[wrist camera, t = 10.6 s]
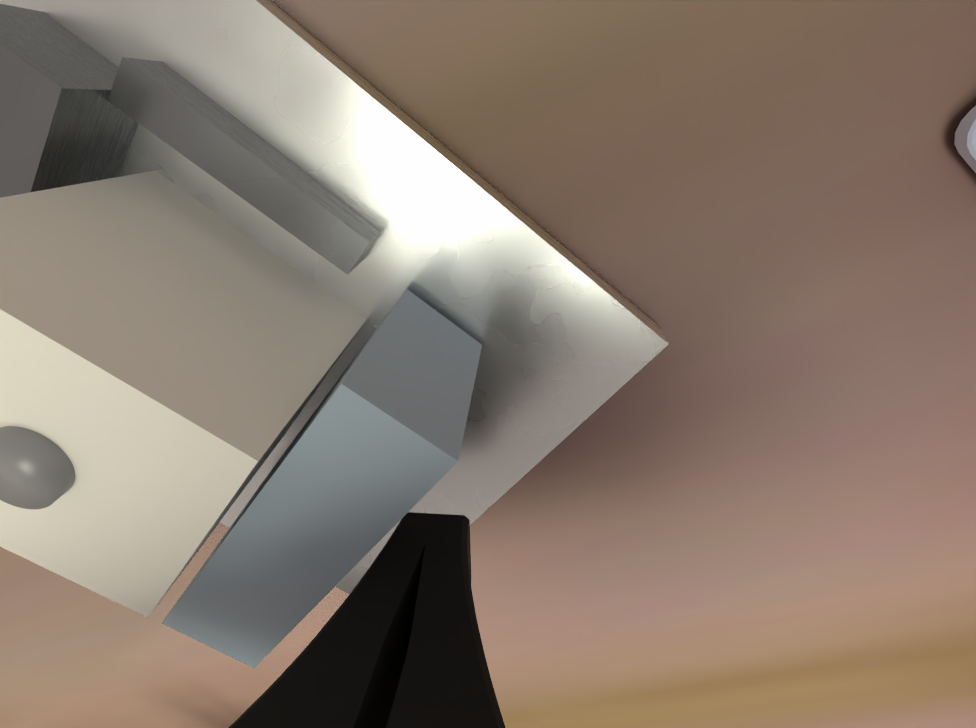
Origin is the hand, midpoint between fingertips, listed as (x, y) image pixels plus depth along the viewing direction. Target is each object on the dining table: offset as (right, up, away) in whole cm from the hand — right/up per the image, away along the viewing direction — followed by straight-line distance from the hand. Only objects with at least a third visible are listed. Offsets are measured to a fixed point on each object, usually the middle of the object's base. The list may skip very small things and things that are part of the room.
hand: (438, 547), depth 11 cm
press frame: (-4, +5, +2) cm, 7 cm away
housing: (-5, +5, +1) cm, 7 cm away
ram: (-2, +3, +1) cm, 3 cm away
